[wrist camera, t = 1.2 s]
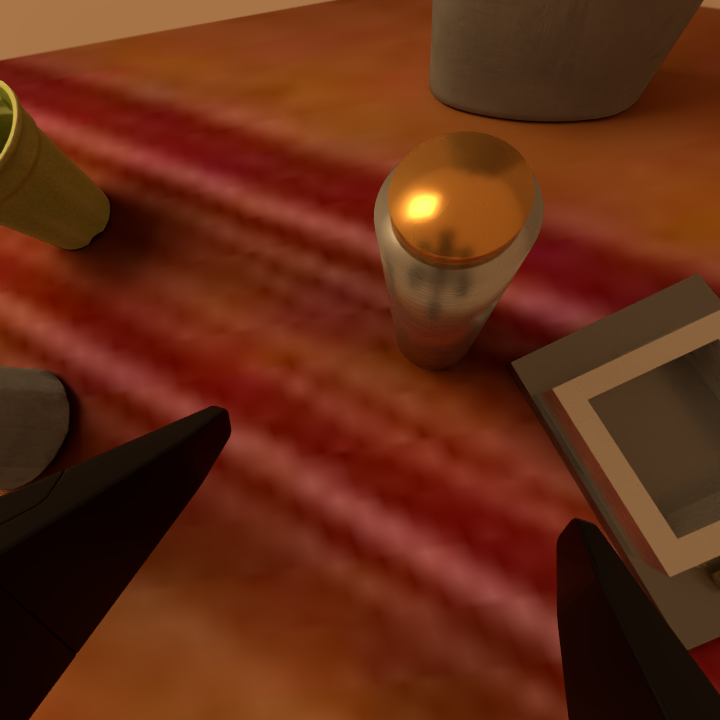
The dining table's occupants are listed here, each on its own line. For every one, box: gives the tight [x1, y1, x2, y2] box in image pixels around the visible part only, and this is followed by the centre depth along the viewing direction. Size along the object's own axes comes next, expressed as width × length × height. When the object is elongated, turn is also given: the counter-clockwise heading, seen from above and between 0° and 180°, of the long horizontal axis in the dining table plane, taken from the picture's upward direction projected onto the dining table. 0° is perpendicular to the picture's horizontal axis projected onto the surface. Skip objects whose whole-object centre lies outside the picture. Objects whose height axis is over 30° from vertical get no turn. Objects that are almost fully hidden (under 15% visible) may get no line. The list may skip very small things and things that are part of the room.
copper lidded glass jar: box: [374, 132, 544, 370], centre depth 16 cm, size 5×5×14 cm
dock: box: [507, 273, 720, 650], centre depth 18 cm, size 16×12×4 cm
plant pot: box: [0, 80, 110, 250], centre depth 26 cm, size 9×9×9 cm
